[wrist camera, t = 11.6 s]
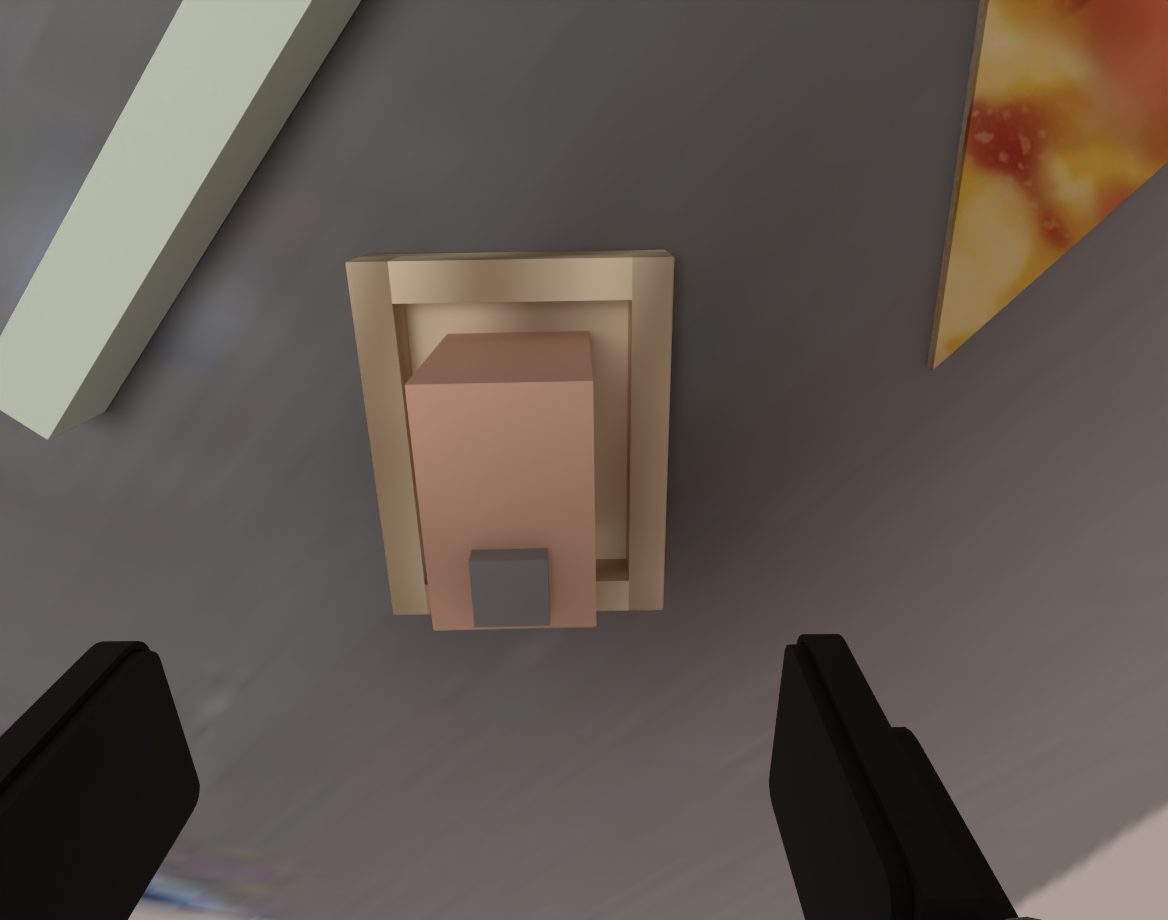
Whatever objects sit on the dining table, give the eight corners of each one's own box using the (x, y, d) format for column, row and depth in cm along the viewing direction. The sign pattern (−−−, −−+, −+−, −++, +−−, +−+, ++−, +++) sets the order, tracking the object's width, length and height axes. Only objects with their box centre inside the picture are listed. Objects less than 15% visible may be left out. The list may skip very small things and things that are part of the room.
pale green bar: (420, -301, 17) (393, -387, 15) (498, -220, 18) (485, -288, 15) (37, 367, 23) (-30, 391, 21) (105, 411, 24) (47, 439, 21)
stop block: (588, 330, 22) (593, 388, 16) (591, 526, 25) (597, 640, 19) (447, 333, 22) (398, 391, 16) (465, 529, 25) (429, 644, 19)
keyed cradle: (664, 249, 22) (674, 256, 20) (655, 575, 27) (662, 609, 24) (367, 254, 22) (345, 262, 20) (408, 579, 27) (393, 614, 24)
